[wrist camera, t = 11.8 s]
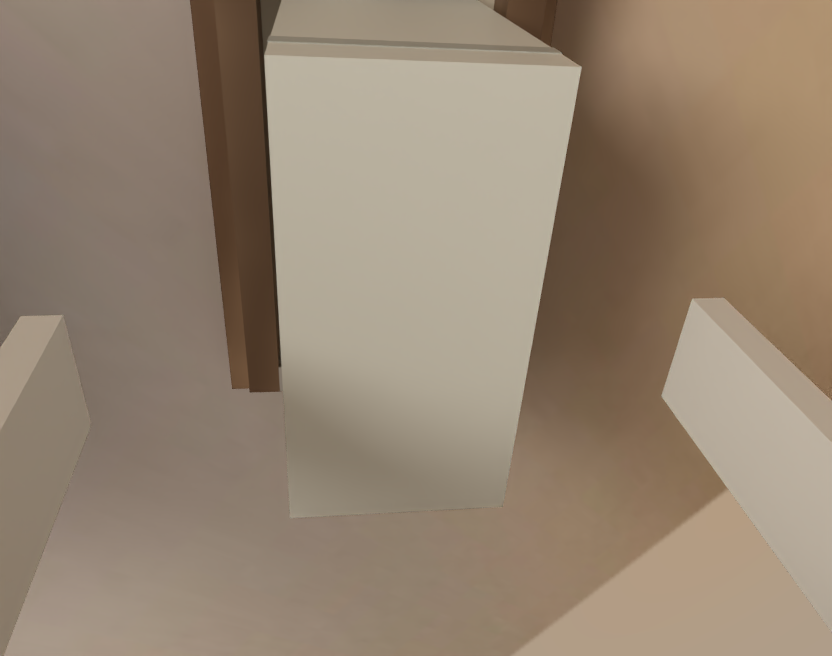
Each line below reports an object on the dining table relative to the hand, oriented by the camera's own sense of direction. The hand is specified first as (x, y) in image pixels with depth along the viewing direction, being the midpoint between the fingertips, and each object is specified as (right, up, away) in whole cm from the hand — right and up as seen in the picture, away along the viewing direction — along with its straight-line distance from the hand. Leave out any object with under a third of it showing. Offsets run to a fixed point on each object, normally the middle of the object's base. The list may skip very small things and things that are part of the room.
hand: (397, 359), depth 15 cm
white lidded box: (-1, +6, +10) cm, 12 cm away
